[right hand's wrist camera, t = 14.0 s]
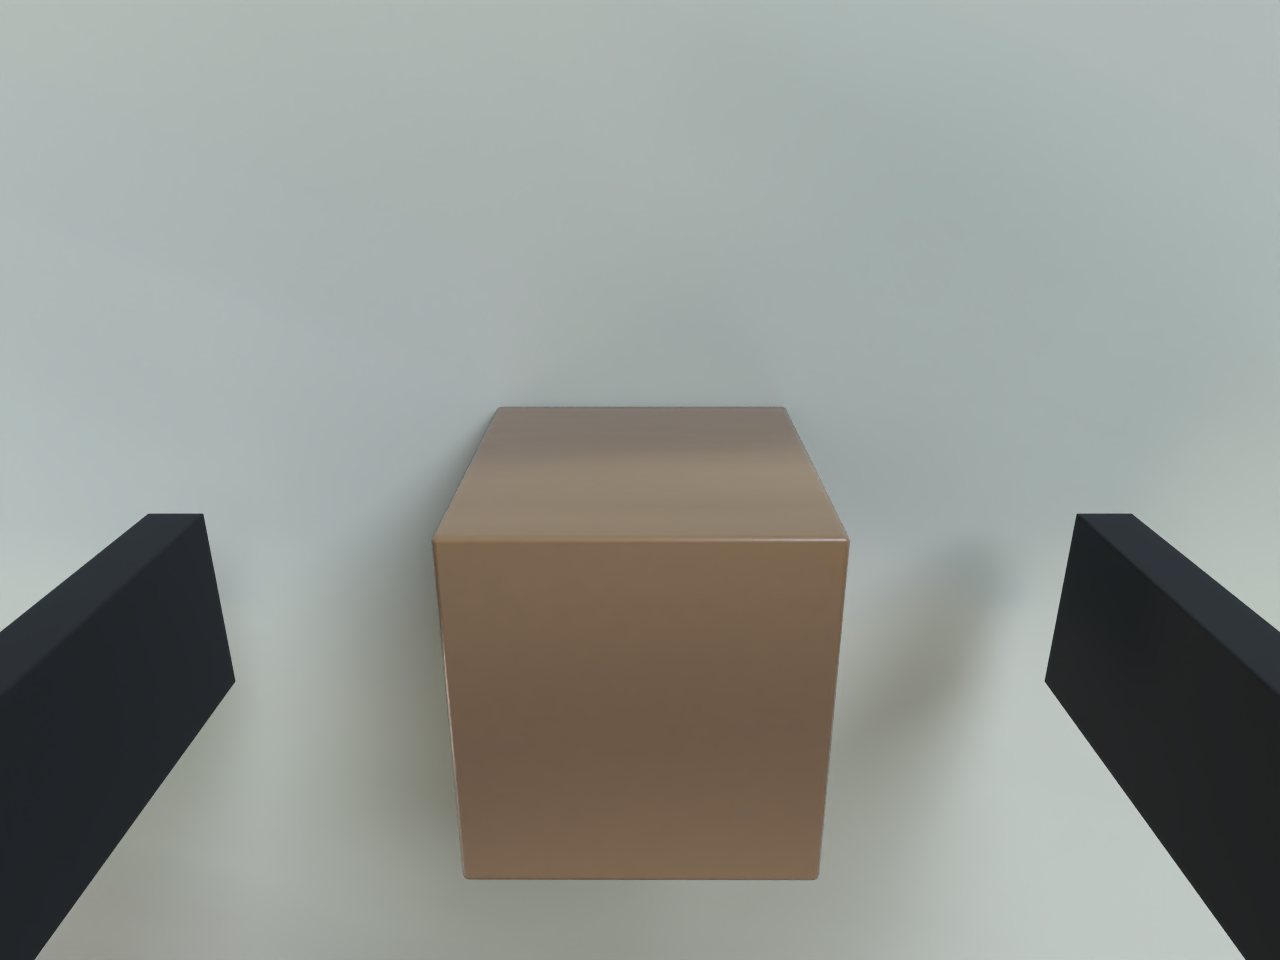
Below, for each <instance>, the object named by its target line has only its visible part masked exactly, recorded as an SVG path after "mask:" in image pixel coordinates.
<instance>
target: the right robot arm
mask: <svg viewBox="0 0 1280 960" xmlns="http://www.w3.org/2000/svg"><path fill="white" fill-rule="evenodd" d="M234 683H235V677H234V672H233V666H232V661H231V656H230V651H229V646H228V640H227V635H226V630H225V625H224V619H223V614H222V609H221V604H220V599H219V593H218V588H217V583H216V578H215V573H214V567H213V562H212V557H211V552H210V546H209V541H208V536H207V531H206V526H205V520H204V515H203V514H147V515H146V516H145V517H144V518H142V519H141V520H140V521H139V522H137V523H136V524H135V525H134V526H132V527H131V528H130V529H129V530H127V531H126V532H125V533H124V534H122V535H121V536H120V537H119V538H117V539H116V540H115V541H114V542H112V543H111V544H110V545H109V546H107V547H106V548H105V549H104V550H102V551H101V552H100V553H99V554H97V555H96V556H95V557H94V558H92V559H91V560H90V561H89V562H87V563H86V564H85V565H84V566H82V567H81V568H80V569H79V570H77V571H76V572H75V573H74V574H72V575H71V576H70V577H69V578H67V579H66V580H65V581H64V582H62V583H61V584H60V585H59V586H57V587H56V588H55V589H54V590H52V591H51V592H50V593H49V594H47V595H46V596H45V597H44V598H42V599H41V600H40V601H39V602H37V603H36V604H35V605H34V606H32V607H31V608H30V609H29V610H27V611H26V612H25V613H24V614H22V615H21V616H20V617H19V618H17V619H16V620H15V621H14V622H12V623H11V624H10V625H9V626H7V627H6V628H5V629H4V630H2V631H1V632H0V960H35V958H36V957H37V955H38V954H39V953H40V951H41V950H42V948H43V947H44V946H45V944H46V943H47V942H48V940H49V939H50V937H51V936H52V935H53V933H54V932H55V930H56V929H57V928H58V926H59V925H60V924H61V922H62V921H63V919H64V918H65V917H66V915H67V914H68V912H69V911H70V910H71V908H72V907H73V906H74V904H75V903H76V901H77V900H78V899H79V897H80V896H81V894H82V893H83V892H84V890H85V889H86V888H87V886H88V885H89V883H90V882H91V881H92V879H93V878H94V876H95V875H96V874H97V872H98V871H99V870H100V868H101V867H102V865H103V864H104V863H105V861H106V860H107V858H108V857H109V856H110V854H111V853H112V851H113V850H114V849H115V847H116V846H117V845H118V843H119V842H120V840H121V839H122V838H123V836H124V835H125V833H126V832H127V831H128V829H129V828H130V827H131V825H132V824H133V822H134V821H135V820H136V818H137V817H138V815H139V814H140V813H141V811H142V810H143V809H144V807H145V806H146V804H147V803H148V802H149V800H150V799H151V797H152V796H153V795H154V793H155V792H156V791H157V789H158V788H159V786H160V785H161V784H162V782H163V781H164V779H165V778H166V777H167V775H168V774H169V773H170V771H171V770H172V768H173V767H174V766H175V764H176V763H177V761H178V760H179V759H180V757H181V756H182V755H183V753H184V752H185V750H186V749H187V748H188V746H189V745H190V743H191V742H192V741H193V739H194V738H195V737H196V735H197V734H198V732H199V731H200V730H201V728H202V727H203V725H204V724H205V723H206V721H207V720H208V719H209V717H210V716H211V714H212V713H213V712H214V710H215V709H216V707H217V706H218V705H219V703H220V702H221V701H222V699H223V698H224V696H225V695H226V694H227V692H228V691H229V689H230V688H231V687H232V685H233V684H234ZM1045 683H1046V684H1047V685H1048V687H1049V688H1050V689H1051V691H1052V692H1053V694H1054V695H1055V696H1056V698H1057V699H1058V701H1059V702H1060V703H1061V705H1062V706H1063V707H1064V709H1065V710H1066V712H1067V713H1068V714H1069V716H1070V717H1071V719H1072V720H1073V721H1074V723H1075V724H1076V725H1077V727H1078V728H1079V730H1080V731H1081V732H1082V734H1083V735H1084V737H1085V738H1086V739H1087V741H1088V742H1089V743H1090V745H1091V746H1092V748H1093V749H1094V750H1095V752H1096V753H1097V755H1098V756H1099V757H1100V759H1101V760H1102V761H1103V763H1104V764H1105V766H1106V767H1107V768H1108V770H1109V771H1110V773H1111V774H1112V775H1113V777H1114V778H1115V779H1116V781H1117V782H1118V784H1119V785H1120V786H1121V788H1122V789H1123V791H1124V792H1125V793H1126V795H1127V796H1128V797H1129V799H1130V800H1131V802H1132V803H1133V804H1134V806H1135V807H1136V809H1137V810H1138V811H1139V813H1140V814H1141V815H1142V817H1143V818H1144V820H1145V821H1146V822H1147V824H1148V825H1149V827H1150V828H1151V829H1152V831H1153V832H1154V833H1155V835H1156V836H1157V838H1158V839H1159V840H1160V842H1161V843H1162V845H1163V846H1164V847H1165V849H1166V850H1167V851H1168V853H1169V854H1170V856H1171V857H1172V858H1173V860H1174V861H1175V863H1176V864H1177V865H1178V867H1179V868H1180V869H1181V871H1182V872H1183V874H1184V875H1185V876H1186V878H1187V879H1188V881H1189V882H1190V883H1191V885H1192V886H1193V887H1194V889H1195V890H1196V892H1197V893H1198V894H1199V896H1200V897H1201V899H1202V900H1203V901H1204V903H1205V904H1206V905H1207V907H1208V908H1209V910H1210V911H1211V912H1212V914H1213V915H1214V917H1215V918H1216V919H1217V921H1218V922H1219V923H1220V925H1221V926H1222V928H1223V929H1224V930H1225V932H1226V933H1227V935H1228V936H1229V937H1230V939H1231V940H1232V941H1233V943H1234V944H1235V946H1236V947H1237V948H1238V950H1239V951H1240V953H1241V954H1242V955H1243V957H1244V958H1245V959H1246V960H1280V632H1279V631H1278V630H1276V629H1275V628H1274V627H1273V626H1271V625H1270V624H1269V623H1268V622H1266V621H1265V620H1264V619H1263V618H1261V617H1260V616H1259V615H1258V614H1256V613H1255V612H1254V611H1253V610H1251V609H1250V608H1249V607H1248V606H1246V605H1245V604H1244V603H1243V602H1241V601H1240V600H1239V599H1238V598H1236V597H1235V596H1234V595H1233V594H1231V593H1230V592H1229V591H1228V590H1226V589H1225V588H1224V587H1223V586H1221V585H1220V584H1219V583H1218V582H1216V581H1215V580H1214V579H1213V578H1211V577H1210V576H1209V575H1208V574H1206V573H1205V572H1204V571H1203V570H1201V569H1200V568H1199V567H1198V566H1196V565H1195V564H1194V563H1193V562H1191V561H1190V560H1189V559H1188V558H1186V557H1185V556H1184V555H1183V554H1181V553H1180V552H1179V551H1178V550H1176V549H1175V548H1174V547H1173V546H1171V545H1170V544H1169V543H1168V542H1166V541H1165V540H1164V539H1163V538H1161V537H1160V536H1159V535H1158V534H1156V533H1155V532H1154V531H1153V530H1151V529H1150V528H1149V527H1148V526H1146V525H1145V524H1144V523H1143V522H1141V521H1140V520H1139V519H1138V518H1136V517H1135V516H1134V515H1133V514H1077V515H1076V521H1075V526H1074V531H1073V536H1072V541H1071V547H1070V552H1069V557H1068V562H1067V567H1066V573H1065V578H1064V583H1063V588H1062V594H1061V599H1060V604H1059V609H1058V614H1057V620H1056V625H1055V630H1054V635H1053V640H1052V646H1051V651H1050V656H1049V661H1048V667H1047V672H1046V677H1045Z"/></svg>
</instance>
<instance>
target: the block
mask: <svg viewBox="0 0 1280 960" xmlns="http://www.w3.org/2000/svg"><path fill="white" fill-rule="evenodd" d="M849 544H850V540H849V538H848V535H847V533H846V531H845V529H844V527H843V525H842V523H841V521H840V519H839V517H838V515H837V513H836V511H835V509H834V507H833V505H832V503H831V501H830V499H829V497H828V495H827V493H826V490H825V488H824V486H823V484H822V482H821V480H820V478H819V476H818V474H817V472H816V470H815V468H814V466H813V464H812V462H811V460H810V458H809V456H808V454H807V452H806V450H805V448H804V446H803V443H802V441H801V439H800V437H799V435H798V433H797V431H796V429H795V427H794V425H793V423H792V421H791V419H790V417H789V415H788V413H787V411H786V409H785V408H783V407H500V408H498V409H497V411H496V413H495V415H494V417H493V419H492V421H491V423H490V425H489V427H488V429H487V431H486V433H485V435H484V437H483V439H482V441H481V443H480V445H479V447H478V449H477V451H476V453H475V455H474V457H473V459H472V461H471V463H470V464H469V466H468V468H467V470H466V472H465V474H464V476H463V478H462V480H461V482H460V484H459V486H458V488H457V490H456V492H455V494H454V496H453V498H452V500H451V502H450V504H449V506H448V508H447V510H446V512H445V514H444V516H443V518H442V520H441V522H440V524H439V526H438V528H437V530H436V532H435V534H434V536H433V538H432V551H433V561H434V572H435V583H436V593H437V604H438V614H439V625H440V636H441V646H442V657H443V667H444V678H445V689H446V699H447V710H448V720H449V731H450V742H451V752H452V763H453V773H454V784H455V795H456V805H457V816H458V826H459V837H460V848H461V858H462V869H463V875H464V877H465V878H466V879H539V880H815V879H817V878H818V875H819V868H820V857H821V847H822V836H823V825H824V814H825V803H826V793H827V782H828V771H829V760H830V750H831V739H832V728H833V717H834V706H835V696H836V685H837V674H838V663H839V652H840V642H841V631H842V620H843V609H844V598H845V588H846V577H847V566H848V555H849Z"/></svg>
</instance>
